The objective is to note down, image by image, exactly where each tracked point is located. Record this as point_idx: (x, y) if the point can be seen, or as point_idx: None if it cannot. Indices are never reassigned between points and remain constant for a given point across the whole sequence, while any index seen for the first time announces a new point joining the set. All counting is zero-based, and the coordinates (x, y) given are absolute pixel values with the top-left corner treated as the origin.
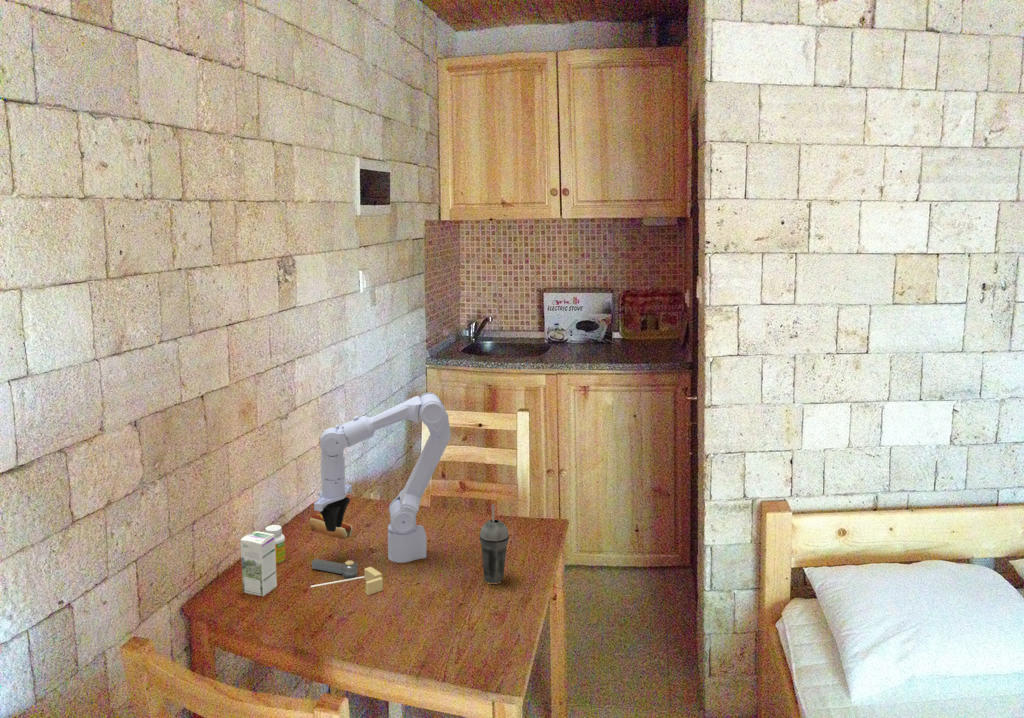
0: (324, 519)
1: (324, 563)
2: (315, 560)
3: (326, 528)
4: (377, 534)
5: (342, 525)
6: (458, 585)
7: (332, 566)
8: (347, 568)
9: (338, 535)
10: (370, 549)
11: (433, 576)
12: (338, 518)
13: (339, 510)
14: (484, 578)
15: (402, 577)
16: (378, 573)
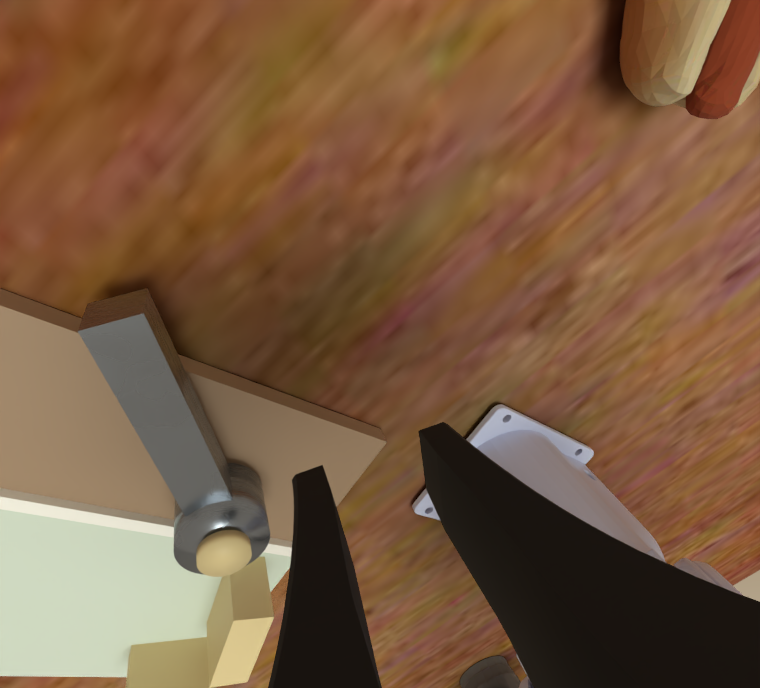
0: (288, 622)
1: (136, 418)
2: (116, 337)
3: (293, 495)
4: (729, 185)
5: (731, 47)
6: (417, 661)
7: (158, 464)
8: (182, 565)
9: (634, 45)
10: (556, 292)
11: (434, 599)
12: (475, 557)
13: (541, 670)
14: (472, 679)
15: (376, 562)
16: (239, 675)
